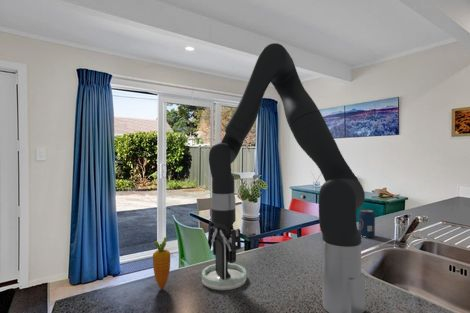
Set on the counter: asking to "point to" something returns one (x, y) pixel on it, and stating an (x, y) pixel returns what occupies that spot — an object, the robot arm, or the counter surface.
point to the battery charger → (222, 258)
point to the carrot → (161, 264)
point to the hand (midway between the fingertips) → (223, 258)
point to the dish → (216, 282)
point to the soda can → (367, 222)
